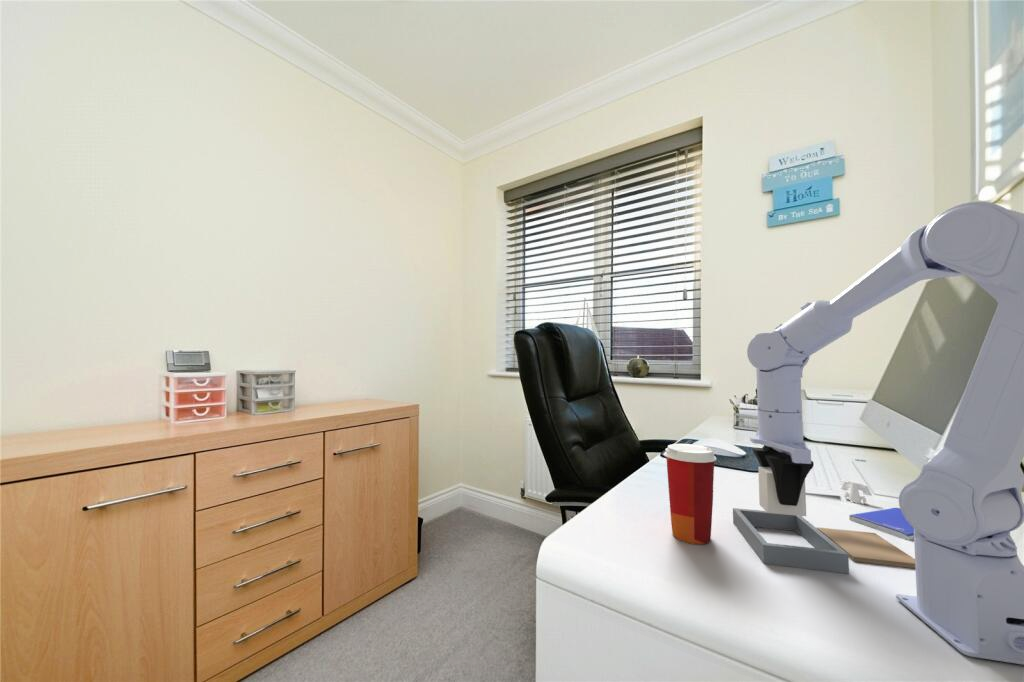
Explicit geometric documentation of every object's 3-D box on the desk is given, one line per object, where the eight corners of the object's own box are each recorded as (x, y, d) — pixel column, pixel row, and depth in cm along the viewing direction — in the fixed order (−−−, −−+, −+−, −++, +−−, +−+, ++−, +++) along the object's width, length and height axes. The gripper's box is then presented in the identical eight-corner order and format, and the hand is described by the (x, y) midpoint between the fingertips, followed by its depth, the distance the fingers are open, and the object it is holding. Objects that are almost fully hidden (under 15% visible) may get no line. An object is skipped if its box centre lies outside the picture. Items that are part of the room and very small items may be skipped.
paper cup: (712, 529, 64) (710, 444, 65) (723, 551, 57) (721, 455, 58) (662, 523, 67) (660, 441, 67) (667, 544, 59) (665, 451, 60)
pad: (923, 569, 52) (923, 564, 52) (853, 561, 54) (853, 556, 54) (875, 536, 62) (874, 532, 62) (816, 531, 64) (816, 527, 64)
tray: (849, 573, 51) (848, 554, 51) (763, 563, 54) (763, 544, 54) (799, 529, 65) (799, 514, 65) (733, 522, 67) (732, 508, 67)
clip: (873, 504, 76) (872, 485, 76) (870, 506, 75) (869, 486, 75) (841, 497, 80) (840, 478, 81) (837, 498, 79) (837, 480, 80)
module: (806, 516, 57) (804, 475, 57) (767, 512, 58) (766, 472, 59) (795, 507, 60) (794, 468, 61) (759, 504, 62) (758, 466, 62)
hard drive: (907, 533, 61) (954, 524, 65) (849, 513, 69) (894, 506, 73) (908, 543, 61) (955, 533, 65) (849, 522, 69) (894, 514, 73)
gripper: (736, 405, 68) (738, 483, 67) (768, 415, 54) (771, 515, 53) (781, 406, 66) (784, 486, 66) (827, 418, 52) (831, 520, 52)
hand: (782, 499), depth 59 cm, fingers closed on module, 3 cm apart
